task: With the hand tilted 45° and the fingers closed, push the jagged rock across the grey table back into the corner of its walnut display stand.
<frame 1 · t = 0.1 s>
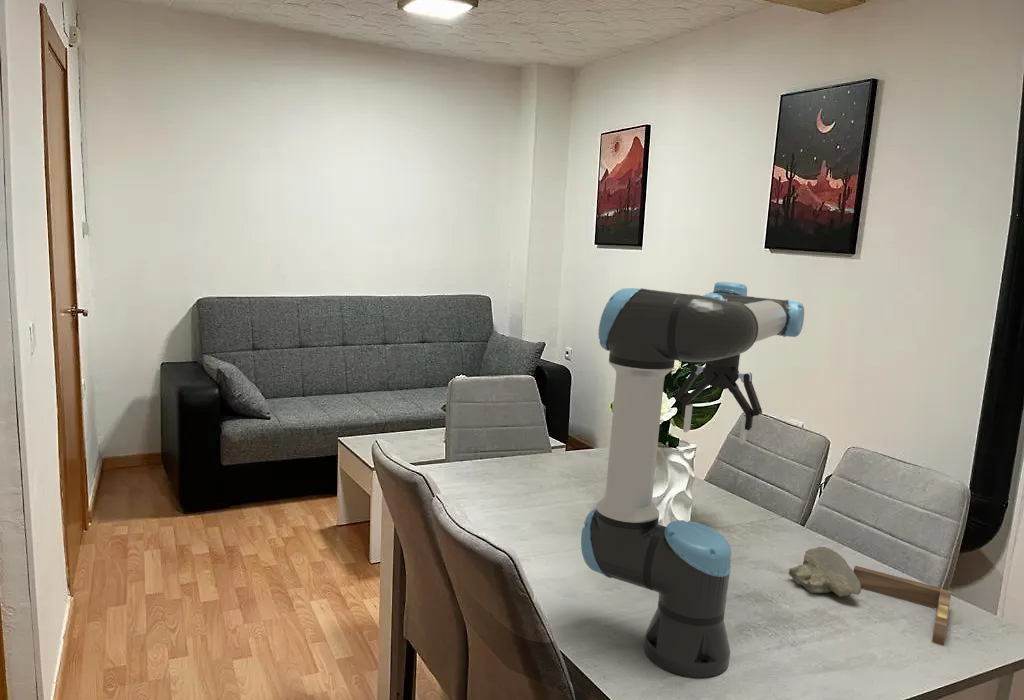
hand: (713, 436, 183), 28 cm above the table, fingers open, 13 cm apart
jagged rock: (823, 592, 168), on the table
stand: (894, 611, 161), on the table
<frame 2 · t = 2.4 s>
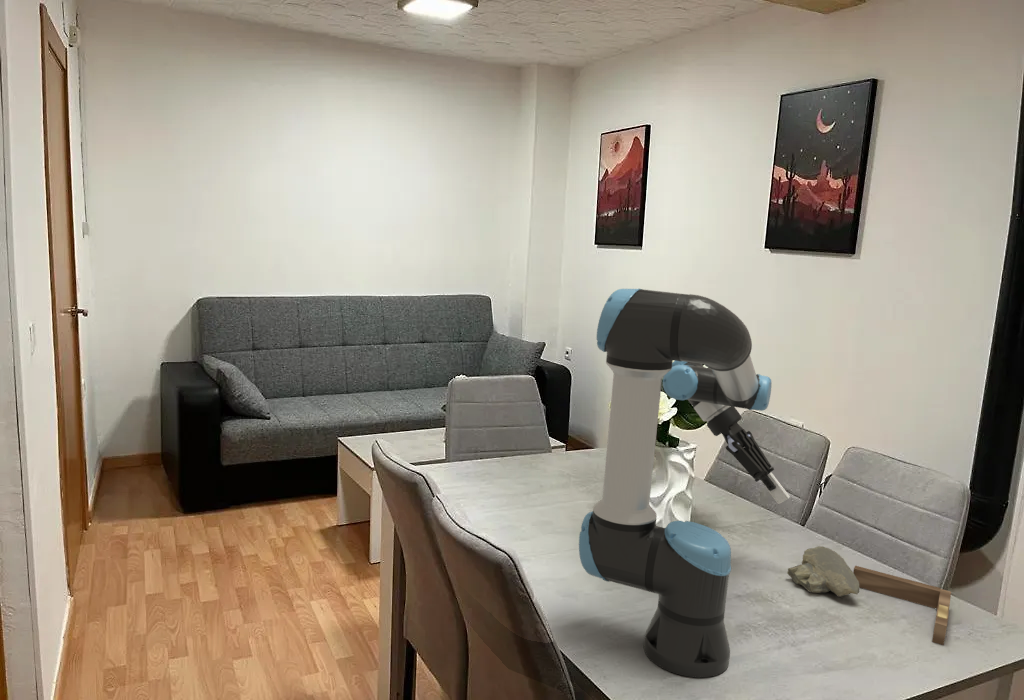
hand: (784, 500, 171), 18 cm above the table, fingers closed
nothing on the table moved.
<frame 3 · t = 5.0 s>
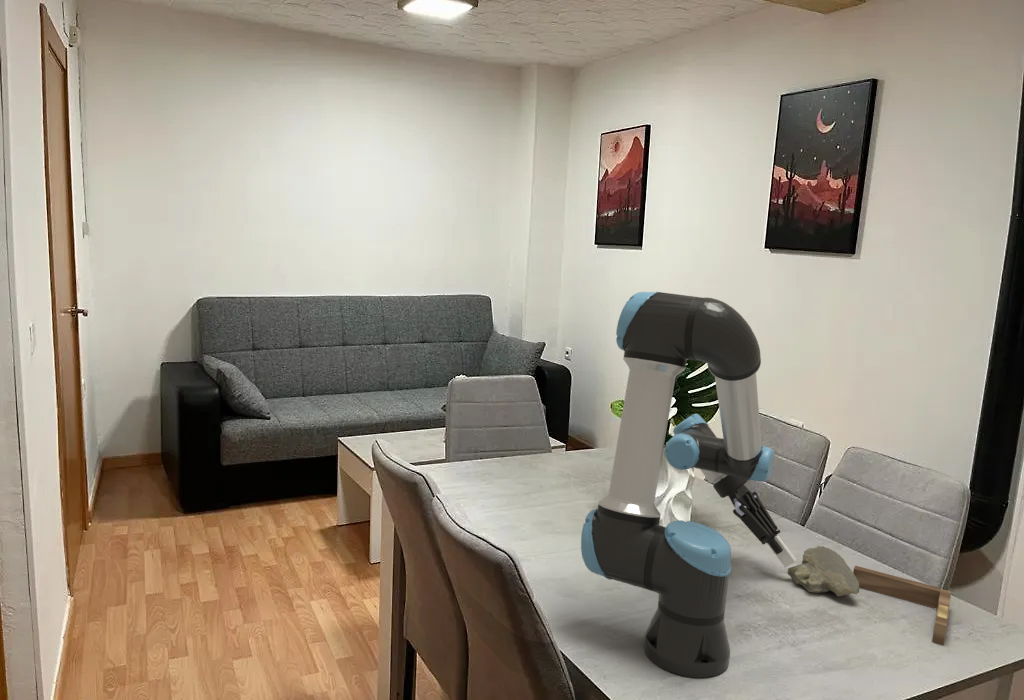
hand: (790, 563, 172), 4 cm above the table, fingers closed
jagged rock: (822, 592, 169), on the table, touching gripper
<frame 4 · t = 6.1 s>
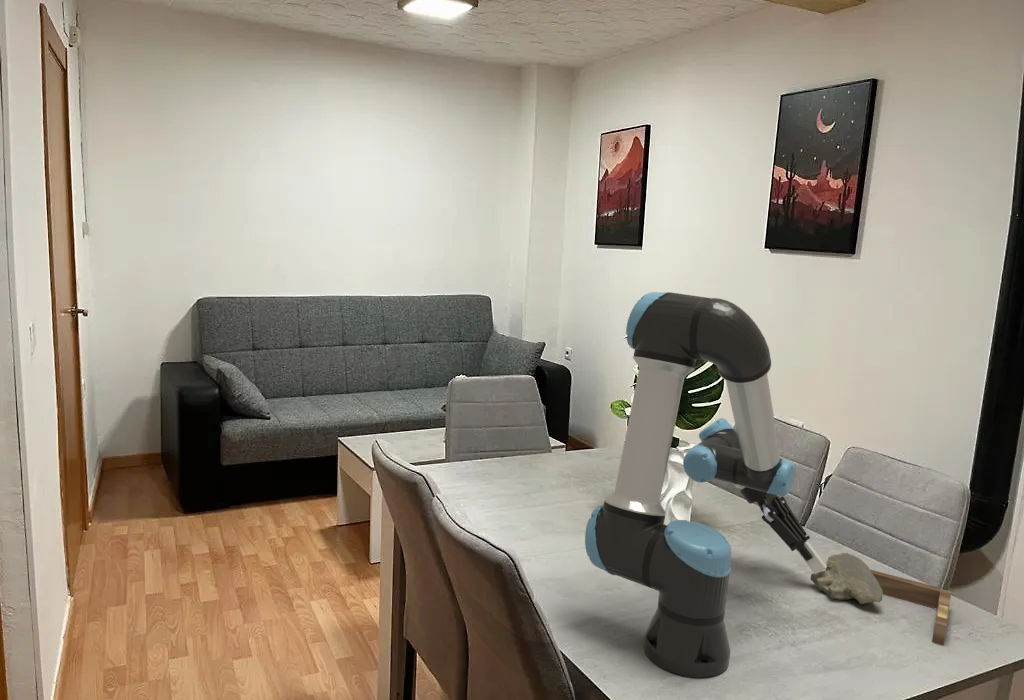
hand: (821, 570, 169), 4 cm above the table, fingers closed
jagged rock: (845, 599, 166), on the table, touching gripper
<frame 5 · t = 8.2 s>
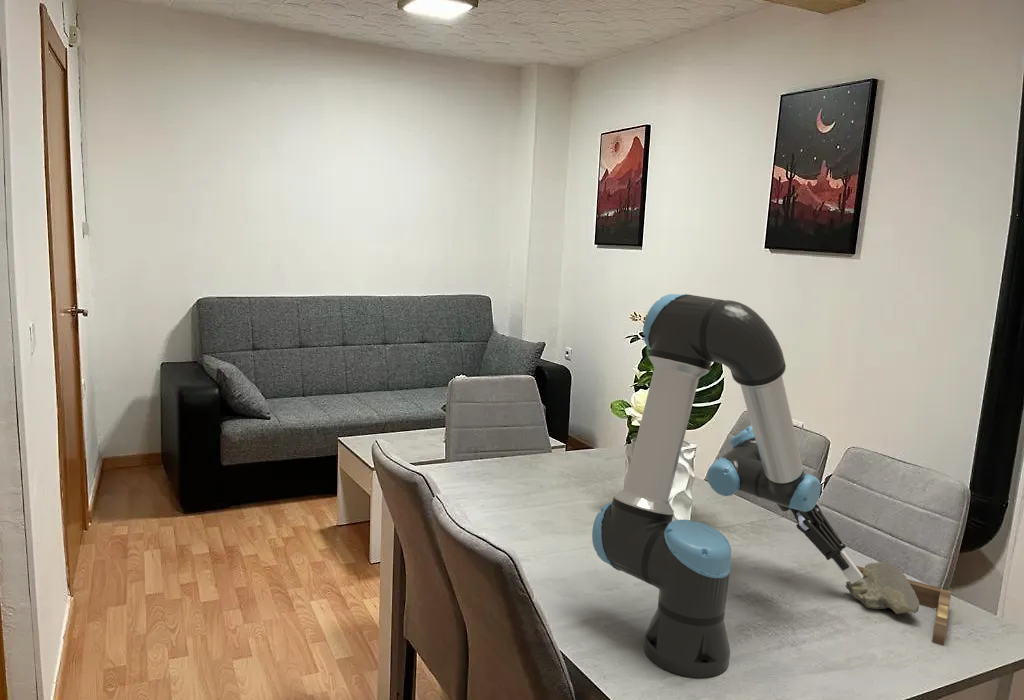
hand: (857, 579, 165), 5 cm above the table, fingers closed
jagged rock: (881, 609, 163), on the table, touching gripper
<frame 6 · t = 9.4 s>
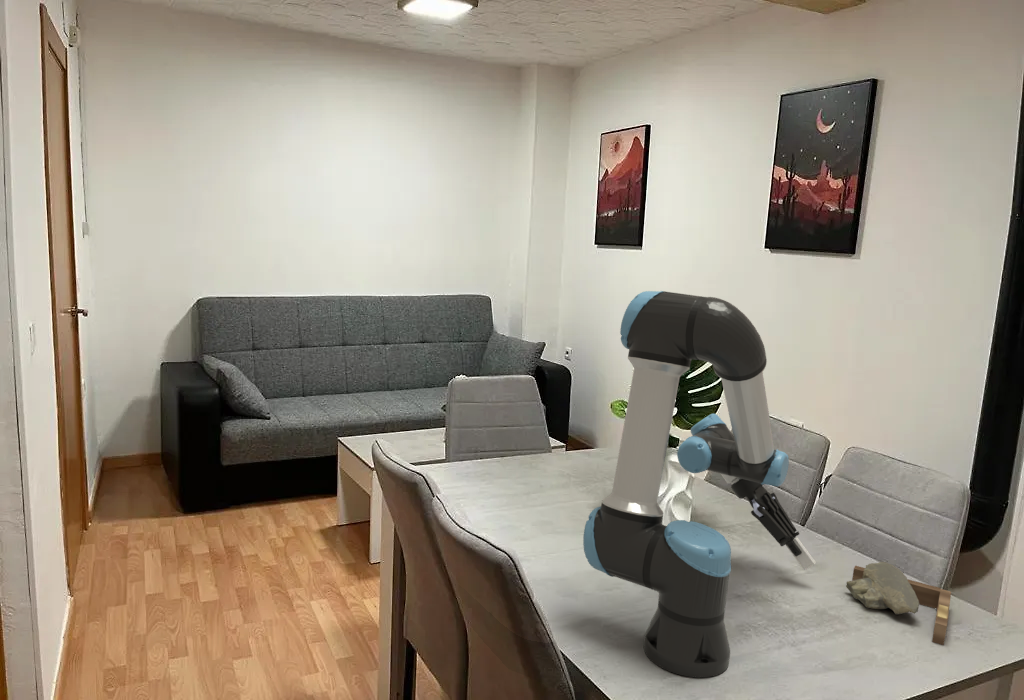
hand: (809, 566, 169), 5 cm above the table, fingers closed
jagged rock: (881, 609, 163), on the table
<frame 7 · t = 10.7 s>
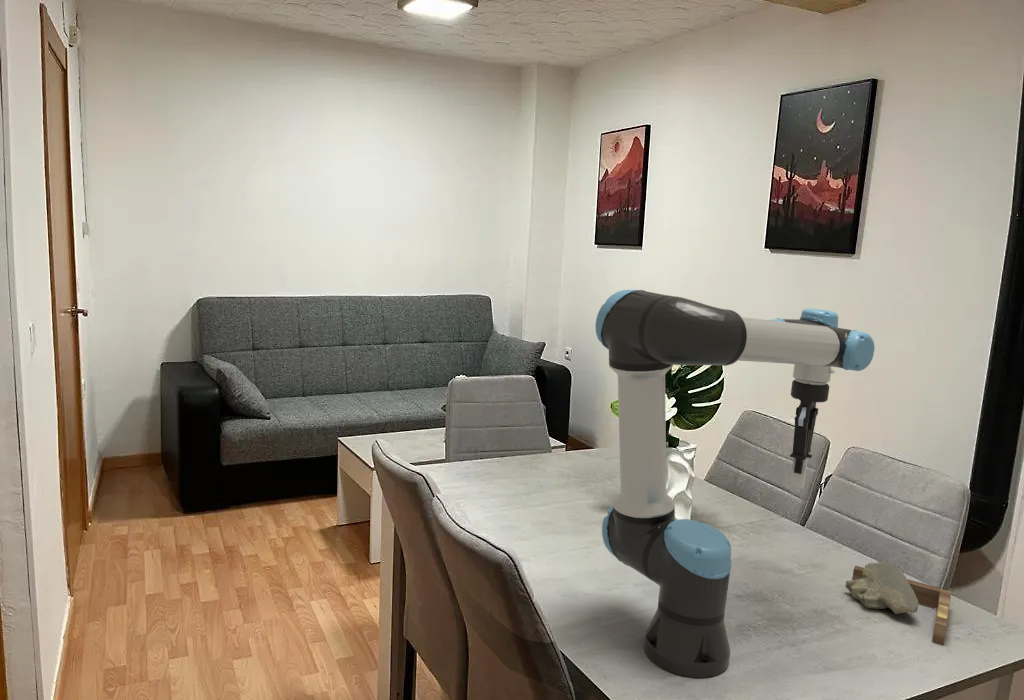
hand: (796, 486, 169), 22 cm above the table, fingers closed
nothing on the table moved.
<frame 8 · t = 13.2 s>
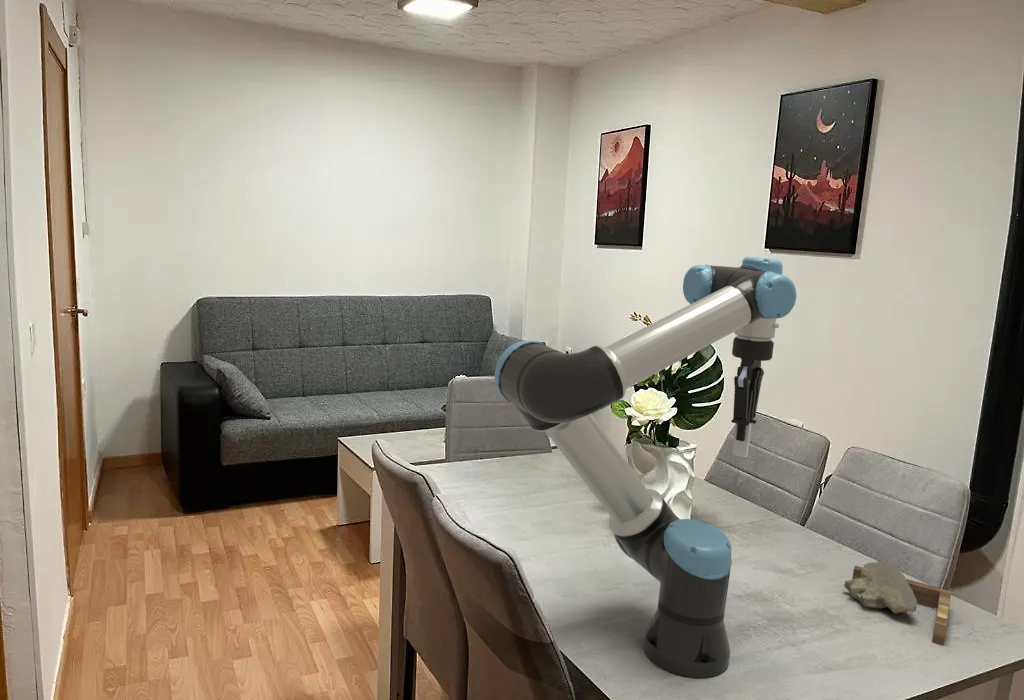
hand: (739, 455, 153), 32 cm above the table, fingers closed
nothing on the table moved.
at the end: jagged rock inside the target area on the stand (3.4 cm from its centre), point 0.0 cm above the stand's base; jagged rock moved 11.1 cm from its start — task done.
